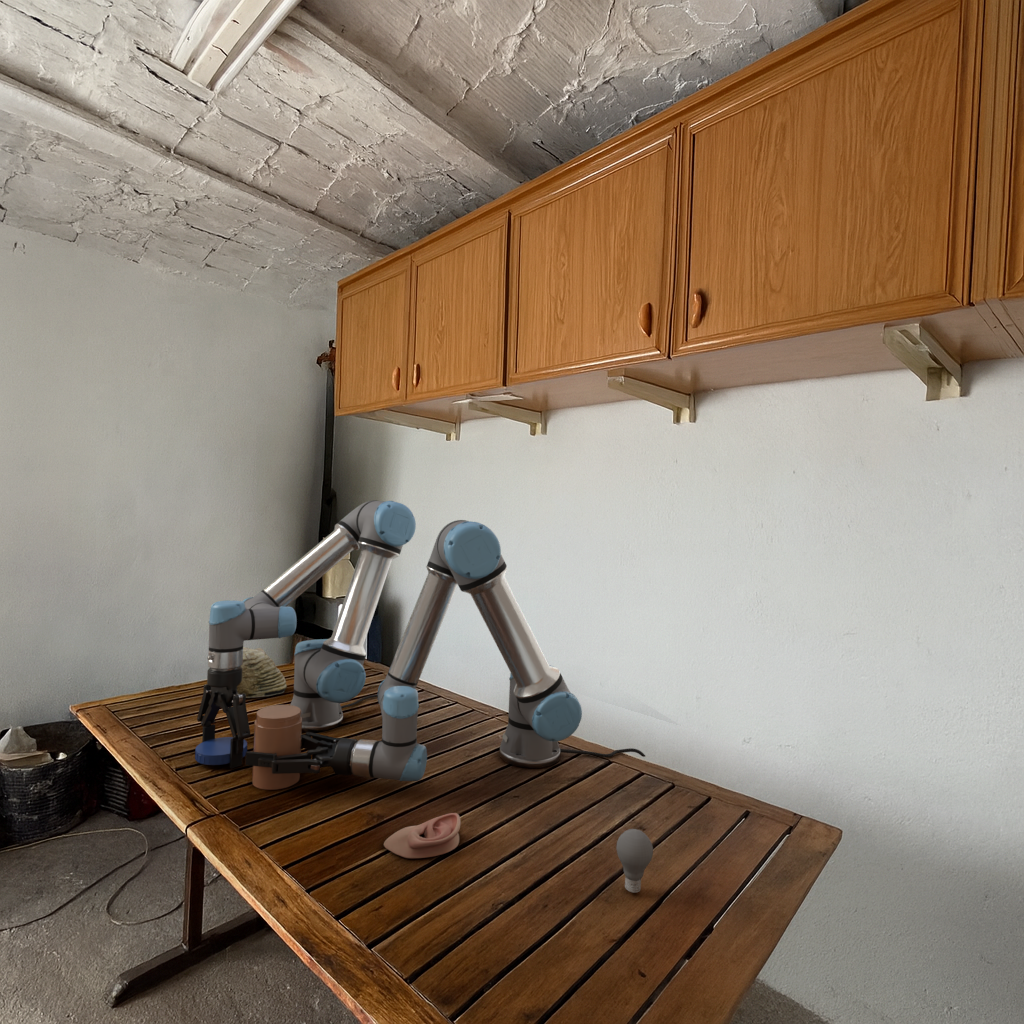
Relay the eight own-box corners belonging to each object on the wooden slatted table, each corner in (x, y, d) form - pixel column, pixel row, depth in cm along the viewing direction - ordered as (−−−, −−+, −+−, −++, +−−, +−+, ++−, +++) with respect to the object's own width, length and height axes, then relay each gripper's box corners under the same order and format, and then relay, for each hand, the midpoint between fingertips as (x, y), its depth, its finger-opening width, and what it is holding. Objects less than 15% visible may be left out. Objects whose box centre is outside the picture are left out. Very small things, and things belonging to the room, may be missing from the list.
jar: (289, 791, 136) (292, 720, 135) (244, 788, 136) (246, 717, 136) (306, 771, 146) (309, 705, 145) (263, 768, 146) (266, 702, 146)
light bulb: (610, 879, 108) (613, 822, 108) (644, 879, 109) (647, 822, 109) (619, 902, 102) (622, 840, 102) (655, 901, 103) (658, 840, 103)
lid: (245, 743, 157) (245, 734, 157) (248, 761, 147) (248, 751, 147) (195, 749, 152) (195, 740, 152) (194, 768, 142) (195, 758, 142)
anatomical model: (377, 831, 113) (401, 802, 124) (376, 853, 113) (400, 822, 124) (448, 842, 110) (466, 811, 122) (447, 865, 111) (465, 832, 122)
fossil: (218, 695, 195) (220, 647, 195) (278, 685, 208) (279, 640, 207) (228, 703, 189) (230, 653, 188) (289, 692, 201) (290, 645, 201)
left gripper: (183, 660, 153) (179, 751, 153) (239, 680, 139) (235, 779, 140) (213, 655, 159) (209, 742, 159) (269, 673, 146) (265, 768, 146)
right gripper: (334, 798, 128) (230, 787, 130) (371, 754, 150) (282, 745, 152) (336, 761, 127) (231, 751, 130) (373, 722, 150) (283, 715, 152)
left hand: (221, 759), depth 150 cm, fingers closed on lid, 11 cm apart
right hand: (259, 748), depth 141 cm, fingers closed on jar, 10 cm apart
